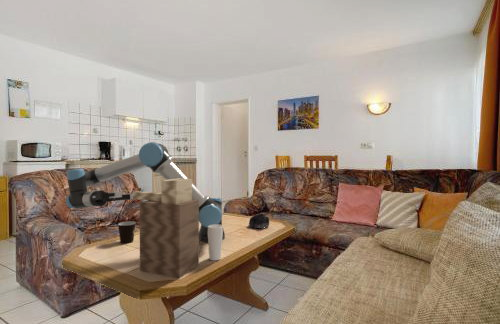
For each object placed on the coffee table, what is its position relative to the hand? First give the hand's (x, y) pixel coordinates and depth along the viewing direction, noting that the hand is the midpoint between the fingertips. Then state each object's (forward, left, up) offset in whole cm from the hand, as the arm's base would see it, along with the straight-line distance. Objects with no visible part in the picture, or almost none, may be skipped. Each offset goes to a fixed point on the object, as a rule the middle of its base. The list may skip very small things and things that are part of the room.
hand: (132, 194), depth 129 cm
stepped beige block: (-12, +17, 0) cm, 21 cm away
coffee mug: (+3, -24, -29) cm, 38 cm away
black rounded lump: (-76, -31, -29) cm, 87 cm away
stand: (-16, +21, -28) cm, 39 cm away
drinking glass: (-36, +17, -29) cm, 49 cm away
